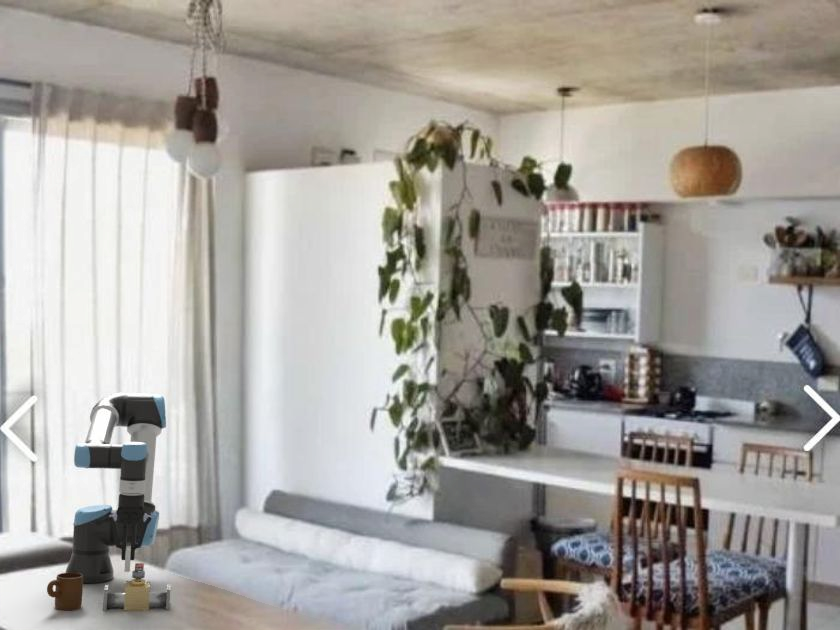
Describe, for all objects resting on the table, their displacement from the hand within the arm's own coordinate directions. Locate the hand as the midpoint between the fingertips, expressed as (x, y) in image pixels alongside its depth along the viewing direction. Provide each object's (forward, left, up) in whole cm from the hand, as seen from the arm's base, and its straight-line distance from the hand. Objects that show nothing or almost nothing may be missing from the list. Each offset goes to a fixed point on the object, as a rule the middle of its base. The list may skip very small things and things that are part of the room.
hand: (127, 570), depth 317 cm
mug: (+9, -17, -9) cm, 22 cm away
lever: (+3, +4, 0) cm, 5 cm away
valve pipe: (+8, +4, -9) cm, 12 cm away
